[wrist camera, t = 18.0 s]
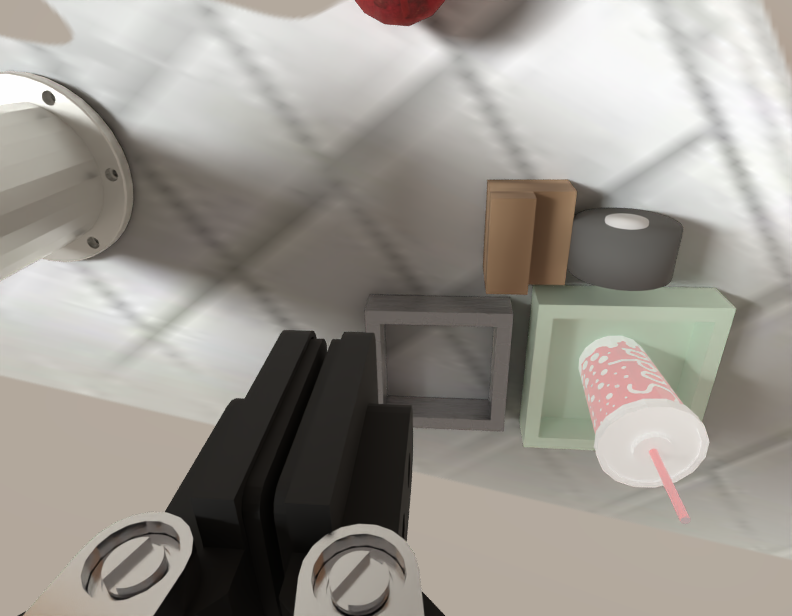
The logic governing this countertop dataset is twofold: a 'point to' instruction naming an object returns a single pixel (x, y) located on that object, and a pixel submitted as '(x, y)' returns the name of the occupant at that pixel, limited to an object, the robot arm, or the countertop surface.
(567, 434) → the tray
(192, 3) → the countertop surface
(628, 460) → the beverage cup
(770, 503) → the countertop surface
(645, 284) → the caster wheel
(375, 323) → the socket ring
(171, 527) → the robot arm
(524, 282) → the block
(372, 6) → the onion
